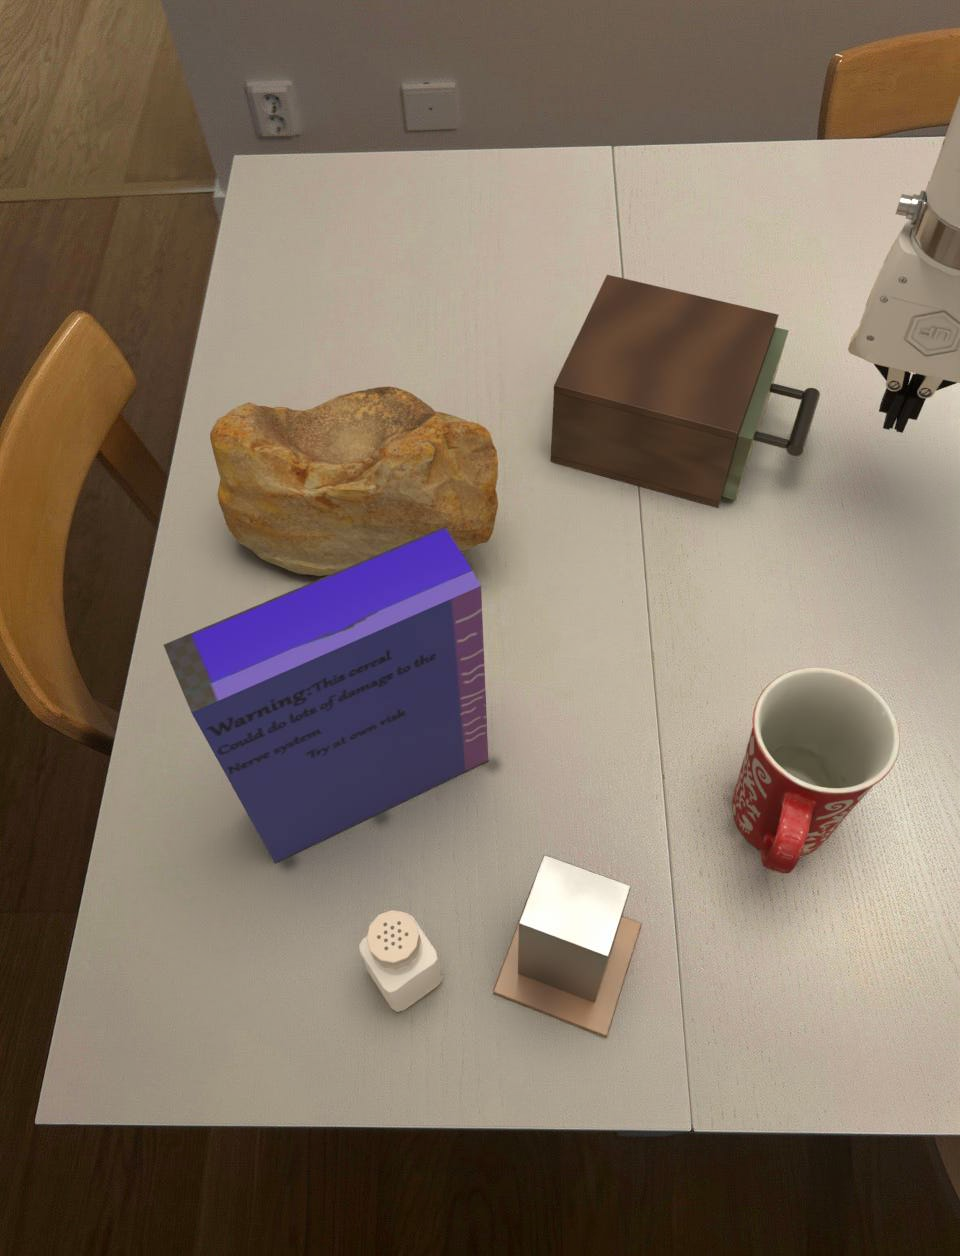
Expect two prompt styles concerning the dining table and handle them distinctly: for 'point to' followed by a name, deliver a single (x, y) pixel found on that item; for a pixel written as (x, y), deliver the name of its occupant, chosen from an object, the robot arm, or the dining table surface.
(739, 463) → the drawer
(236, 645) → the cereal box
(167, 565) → the dining table surface
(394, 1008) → the pepper shaker
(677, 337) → the cabinet
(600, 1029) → the plate
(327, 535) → the rough brown rock
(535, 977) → the metal block
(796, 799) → the mug
